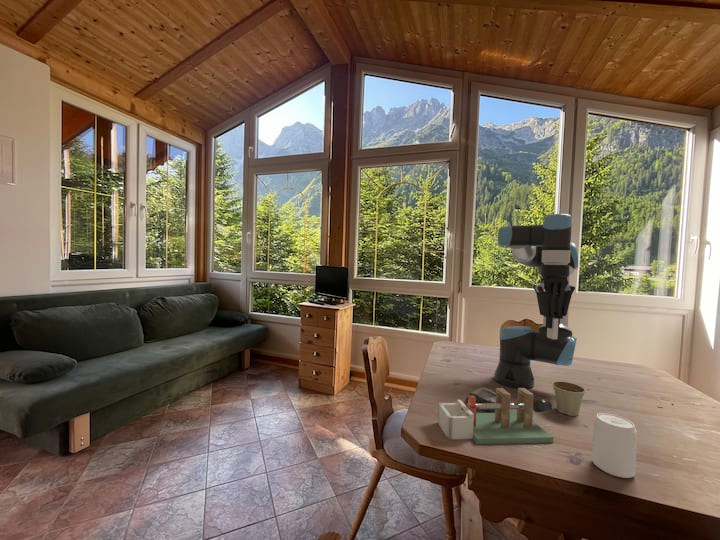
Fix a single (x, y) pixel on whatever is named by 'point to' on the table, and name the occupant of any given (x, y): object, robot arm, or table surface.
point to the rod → (538, 406)
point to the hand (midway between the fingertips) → (552, 338)
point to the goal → (455, 420)
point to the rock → (484, 397)
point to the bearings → (522, 414)
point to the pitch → (507, 431)
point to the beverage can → (614, 445)
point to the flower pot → (568, 397)
